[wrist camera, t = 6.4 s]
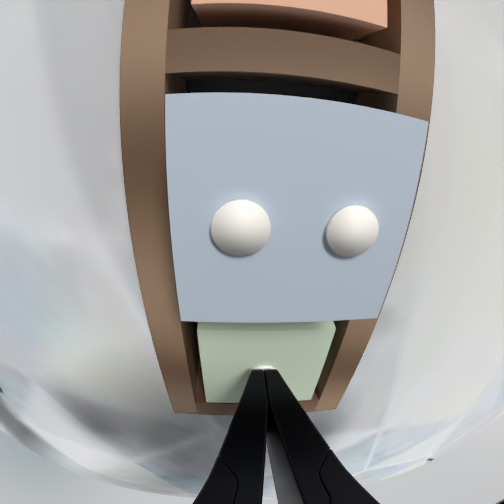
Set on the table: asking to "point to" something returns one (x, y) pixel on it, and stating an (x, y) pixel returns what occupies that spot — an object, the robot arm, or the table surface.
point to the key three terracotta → (297, 15)
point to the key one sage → (262, 355)
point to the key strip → (254, 68)
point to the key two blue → (286, 205)
